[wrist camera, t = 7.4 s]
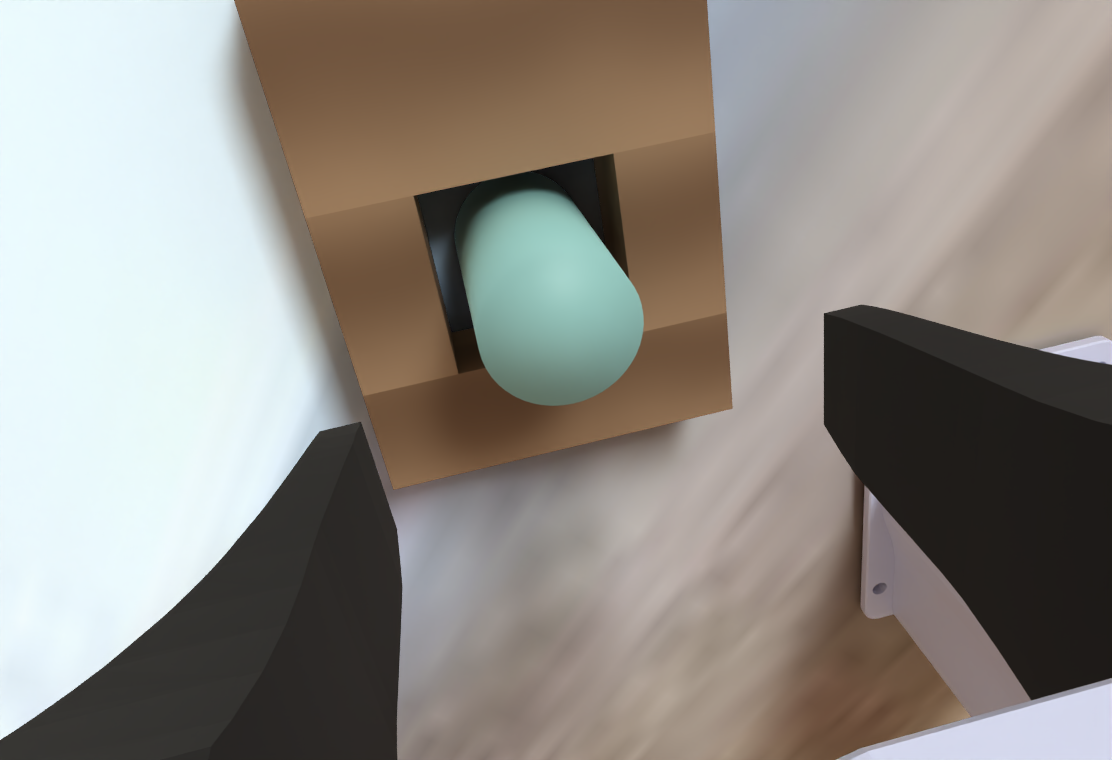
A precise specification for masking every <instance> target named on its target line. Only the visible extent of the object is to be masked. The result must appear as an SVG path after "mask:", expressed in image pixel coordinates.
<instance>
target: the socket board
mask: <svg viewBox="0 0 1112 760" xmlns="http://www.w3.org/2000/svg"><path fill="white" fill-rule="evenodd" d="M234 1H235V4H236V7H237V10H238V14H239V17H240V20H241V23H242V26H243V29H244V32H245V35H246V38H247V41H248V44H249V47H250V50H251V53H252V57H253V60H254V63H255V66H256V69H257V72H258V75H259V78H260V81H261V84H262V87H263V90H264V93H265V97H266V100H267V103H268V106H269V109H270V112H271V115H272V118H273V121H274V124H275V127H276V130H277V133H278V136H279V140H280V143H281V146H282V149H283V152H284V155H285V158H286V161H287V164H288V167H289V170H290V173H291V176H292V179H293V183H294V186H295V189H296V192H297V195H298V198H299V201H300V204H301V207H302V210H303V213H304V216H305V219H306V222H307V226H308V229H309V232H310V235H311V238H312V241H313V244H314V247H315V250H316V253H317V256H318V259H319V262H320V265H321V269H322V272H323V275H324V278H325V281H326V284H327V287H328V290H329V293H330V296H331V299H332V302H333V305H334V308H335V312H336V315H337V318H338V321H339V324H340V327H341V330H342V333H343V336H344V339H345V342H346V345H347V348H348V352H349V355H350V358H351V361H352V364H353V367H354V370H355V373H356V376H357V379H358V382H359V385H360V388H361V391H362V395H363V398H364V401H365V404H366V407H367V410H368V413H369V416H370V419H371V422H372V425H373V428H374V431H375V434H376V438H377V441H378V444H379V447H380V450H381V453H382V456H383V459H384V462H385V465H386V468H387V471H388V474H389V477H390V481H391V484H392V487H393V490H395V489H399V488H403V487H407V486H411V485H416V484H420V483H424V482H428V481H432V480H436V479H441V478H445V477H449V476H453V475H457V474H461V473H466V472H470V471H474V470H478V469H482V468H486V467H491V466H495V465H499V464H503V463H507V462H511V461H516V460H520V459H524V458H528V457H532V456H537V455H541V454H545V453H549V452H553V451H557V450H562V449H566V448H570V447H574V446H578V445H582V444H587V443H591V442H595V441H599V440H603V439H607V438H612V437H616V436H620V435H624V434H628V433H632V432H637V431H641V430H645V429H649V428H653V427H658V426H662V425H666V424H670V423H674V422H678V421H683V420H687V419H691V418H695V417H699V416H703V415H708V414H712V413H716V412H720V411H724V410H728V409H732V393H731V377H730V361H729V345H728V329H727V313H726V297H725V281H724V265H723V250H722V234H721V218H720V202H719V186H718V170H717V154H716V138H715V122H714V106H713V90H712V74H711V58H710V43H709V27H708V11H707V0H234ZM589 158H593V159H594V166H595V173H596V181H597V188H598V195H599V202H600V210H601V217H602V224H603V231H604V239H605V246H606V248H607V249H608V251H609V252H610V254H611V255H612V256H613V258H614V259H615V261H616V262H617V263H618V265H619V266H620V267H621V269H622V270H623V272H624V273H625V274H626V276H627V277H628V279H629V280H630V281H631V283H632V284H633V286H634V287H635V289H636V291H637V293H638V295H639V298H640V301H641V304H642V309H643V318H644V326H643V335H642V339H641V343H640V346H639V349H638V351H637V354H636V356H635V358H634V359H633V361H632V363H631V364H630V366H629V367H628V369H627V370H626V371H625V373H624V374H623V375H622V376H621V377H620V378H619V379H618V380H617V381H616V382H615V383H614V384H612V385H611V386H610V387H608V388H607V389H606V390H604V391H603V392H601V393H599V394H597V395H596V396H594V397H591V398H589V399H587V400H584V401H581V402H577V403H574V404H568V405H559V406H548V405H539V404H534V403H530V402H527V401H524V400H521V399H519V398H517V397H515V396H513V395H512V394H510V393H508V392H507V391H505V390H504V389H503V388H502V387H501V386H499V385H498V384H497V383H496V381H495V380H494V379H493V378H492V377H491V376H490V374H489V372H488V371H487V369H486V368H485V366H484V363H483V361H482V359H481V356H480V352H479V348H478V344H477V339H476V335H475V331H474V328H470V329H466V330H461V331H457V332H451V328H450V324H449V320H448V316H447V312H446V308H445V304H444V300H443V296H442V292H441V288H440V284H439V280H438V276H437V272H436V268H435V264H434V260H433V256H432V252H431V248H430V244H429V240H428V236H427V232H426V228H425V224H424V220H423V216H422V212H421V208H420V204H419V200H418V196H417V195H419V194H424V193H428V192H433V191H438V190H443V189H447V188H452V187H457V186H461V185H466V184H471V183H476V182H480V181H485V180H490V179H495V178H499V177H504V176H509V175H514V174H518V173H523V172H528V171H533V170H537V169H542V168H547V167H552V166H556V165H561V164H566V163H570V162H575V161H580V160H585V159H589Z"/></svg>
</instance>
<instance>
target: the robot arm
mask: <svg viewBox="0 0 1112 760" xmlns="http://www.w3.org/2000/svg"><path fill="white" fill-rule="evenodd" d="M824 425H825V427H826V429H827V430H828V432H829V434H830V435H831V437H832V438H833V440H834V442H835V443H836V445H837V447H838V448H839V450H840V452H841V453H842V455H843V456H844V458H845V459H846V461H847V462H848V464H849V465H850V467H851V468H852V470H853V471H854V473H855V474H856V475H857V476H858V478H859V479H860V480H861V481H862V482H863V484H864V485H865V489H864V518H863V547H862V577H861V610H862V611H863V612H864V614H865V615H866V616H867V617H868V618H871V619H878V618H882V617H886V616H889V615H893V614H894V615H895V617H896V618H897V619H898V621H899V622H900V623H901V625H902V626H903V627H904V629H905V630H906V631H907V633H908V634H909V635H910V636H911V638H912V639H913V640H914V642H915V643H916V644H917V646H918V647H919V648H920V650H921V651H922V652H923V654H924V655H925V656H926V658H927V659H928V660H929V662H930V663H931V664H932V666H933V667H934V668H935V670H936V671H937V672H938V674H939V675H940V676H941V678H942V679H943V680H944V682H945V683H946V684H947V686H948V687H949V688H950V690H951V691H952V692H953V693H954V695H955V696H956V697H957V699H958V700H959V701H960V703H961V704H962V705H963V707H964V708H965V709H966V711H967V712H968V713H969V715H970V716H971V718H967V719H963V720H960V721H956V722H953V723H949V724H946V725H942V726H938V727H935V728H931V729H928V730H924V731H920V732H917V733H913V734H910V735H906V736H902V737H899V738H895V739H892V740H888V741H885V742H881V743H877V744H874V745H870V746H867V747H863V748H860V749H858V750H856V751H853V752H851V753H849V754H847V755H845V756H842V757H840V758H838V759H836V760H1112V341H1111V340H1109V339H1107V338H1105V337H1103V336H1094V337H1090V338H1086V339H1082V340H1077V341H1073V342H1069V343H1065V344H1061V345H1057V346H1053V347H1048V348H1044V349H1040V350H1037V349H1033V348H1028V347H1024V346H1020V345H1016V344H1012V343H1008V342H1004V341H1000V340H997V339H993V338H989V337H985V336H982V335H978V334H974V333H971V332H967V331H964V330H960V329H957V328H953V327H950V326H946V325H943V324H939V323H935V322H932V321H928V320H925V319H921V318H918V317H914V316H911V315H907V314H903V313H899V312H895V311H892V310H887V309H883V308H878V307H873V306H867V305H858V306H854V307H850V308H845V309H841V310H837V311H832V312H828V313H824ZM877 584H878V585H877ZM401 609H402V577H401V565H400V555H399V545H398V535H397V528H396V525H395V522H394V519H393V516H392V513H391V510H390V507H389V504H388V501H387V498H386V495H385V492H384V489H383V486H382V483H381V480H380V477H379V474H378V471H377V468H376V466H375V463H374V460H373V457H372V454H371V451H370V448H369V445H368V442H367V439H366V436H365V433H364V430H363V427H362V424H361V422H358V423H354V424H350V425H345V426H341V427H337V428H333V429H328V430H324V431H320V432H319V433H318V434H317V436H316V437H315V438H314V440H313V441H312V442H311V444H310V445H309V447H308V448H307V449H306V451H305V452H304V454H303V455H302V456H301V458H300V459H299V461H298V462H297V464H296V465H295V466H294V468H293V469H292V471H291V472H290V473H289V475H288V476H287V478H286V479H285V480H284V482H283V483H282V484H281V486H280V487H279V488H278V490H277V491H276V492H275V494H274V495H273V496H272V498H271V499H270V500H269V502H268V503H267V505H266V506H265V507H264V509H263V510H262V511H261V512H260V514H259V515H258V516H257V517H256V518H255V520H254V521H253V522H252V523H251V524H250V526H249V527H248V528H247V529H246V530H245V532H244V533H243V534H242V535H241V536H240V538H239V539H238V540H237V541H236V542H235V544H234V545H233V546H232V547H231V548H230V550H229V551H228V552H227V553H226V554H225V556H224V557H223V558H222V559H221V560H220V561H219V562H218V563H217V564H216V565H215V567H214V568H213V569H212V570H211V571H210V572H209V573H208V574H207V575H206V576H205V577H204V578H203V579H202V580H201V581H200V582H199V583H198V584H197V585H196V586H195V587H194V588H193V589H192V590H191V591H190V592H189V593H188V594H187V595H186V596H185V597H184V598H183V599H182V600H181V601H180V602H179V603H178V604H177V605H176V606H175V607H174V608H173V609H171V610H170V611H169V612H168V613H167V614H166V615H165V616H164V617H163V618H162V619H160V620H159V621H158V622H157V623H156V624H154V625H153V626H152V627H151V628H150V629H149V630H147V631H146V632H145V633H144V634H143V635H141V636H140V637H139V638H138V639H137V640H136V641H134V642H133V643H132V644H131V645H130V646H128V647H127V648H126V649H125V650H124V651H123V652H121V653H120V654H119V655H118V656H117V657H115V658H114V659H113V660H112V661H111V662H109V663H108V664H107V665H106V666H104V667H103V668H102V669H101V670H99V671H98V672H97V673H95V674H94V675H93V676H91V677H90V678H89V679H87V680H86V681H85V682H83V683H82V684H81V685H79V686H78V687H77V688H75V689H74V690H73V691H71V692H70V693H69V694H67V695H66V696H64V697H63V698H61V699H60V700H59V701H57V702H56V703H54V704H53V705H52V706H50V707H49V708H47V709H46V710H44V711H43V712H42V713H40V714H39V715H37V716H36V717H35V718H33V719H32V720H30V721H29V722H27V723H26V724H24V725H23V726H21V727H20V728H18V729H17V730H15V731H14V732H12V733H11V734H9V735H8V736H6V737H4V738H3V739H1V740H0V760H397V700H398V678H399V656H400V634H401Z"/></svg>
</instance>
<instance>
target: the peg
mask: <svg viewBox="0 0 1112 760" xmlns="http://www.w3.org/2000/svg"><path fill="white" fill-rule="evenodd" d="M455 245H456V250H457V255H458V259H459V263H460V268H461V272H462V277H463V281H464V286H465V290H466V295H467V299H468V304H469V308H470V313H471V317H472V322H473V326H474V331H475V335H476V339H477V344H478V348H479V352H480V356H481V359H482V361H483V363H484V366H485V368H486V369H487V371H488V372H489V374H490V376H491V377H492V378H493V379H494V380H495V381H496V383H497V384H498V385H499V386H501V387H502V388H503V389H504V390H505V391H507V392H508V393H510V394H512V395H513V396H515V397H517V398H519V399H521V400H524V401H527V402H530V403H534V404H539V405H548V406H559V405H568V404H574V403H577V402H581V401H584V400H587V399H589V398H591V397H594V396H596V395H597V394H599V393H601V392H603V391H604V390H606V389H607V388H608V387H610V386H611V385H612V384H614V383H615V382H616V381H617V380H618V379H619V378H620V377H621V376H622V375H623V374H624V373H625V371H626V370H627V369H628V367H629V366H630V364H631V363H632V361H633V359H634V358H635V356H636V354H637V351H638V349H639V346H640V343H641V339H642V335H643V326H644V318H643V309H642V304H641V301H640V298H639V295H638V293H637V291H636V289H635V287H634V286H633V284H632V283H631V281H630V280H629V279H628V277H627V276H626V274H625V273H624V272H623V270H622V269H621V267H620V266H619V265H618V263H617V262H616V261H615V259H614V258H613V256H612V255H611V254H610V252H609V251H608V249H607V248H606V247H605V245H604V244H603V243H602V241H601V240H600V238H599V237H598V236H597V234H596V233H595V231H594V230H593V229H592V227H591V226H590V225H589V223H588V222H587V220H586V219H585V218H584V216H583V215H582V213H581V212H580V211H579V209H578V208H577V207H576V205H575V204H574V202H573V201H572V200H571V198H570V197H569V195H568V194H567V193H566V192H565V191H564V190H563V188H562V187H561V186H559V185H558V184H557V183H556V182H554V181H552V180H551V179H549V178H547V177H545V176H543V175H540V174H537V173H533V172H523V173H518V174H514V175H509V176H504V177H499V178H495V179H490V180H486V181H484V182H482V183H481V184H480V185H478V186H477V187H476V188H475V189H474V190H473V191H472V192H471V193H470V194H469V195H468V197H467V198H466V199H465V201H464V203H463V204H462V206H461V208H460V210H459V213H458V215H457V219H456V223H455Z"/></svg>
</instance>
